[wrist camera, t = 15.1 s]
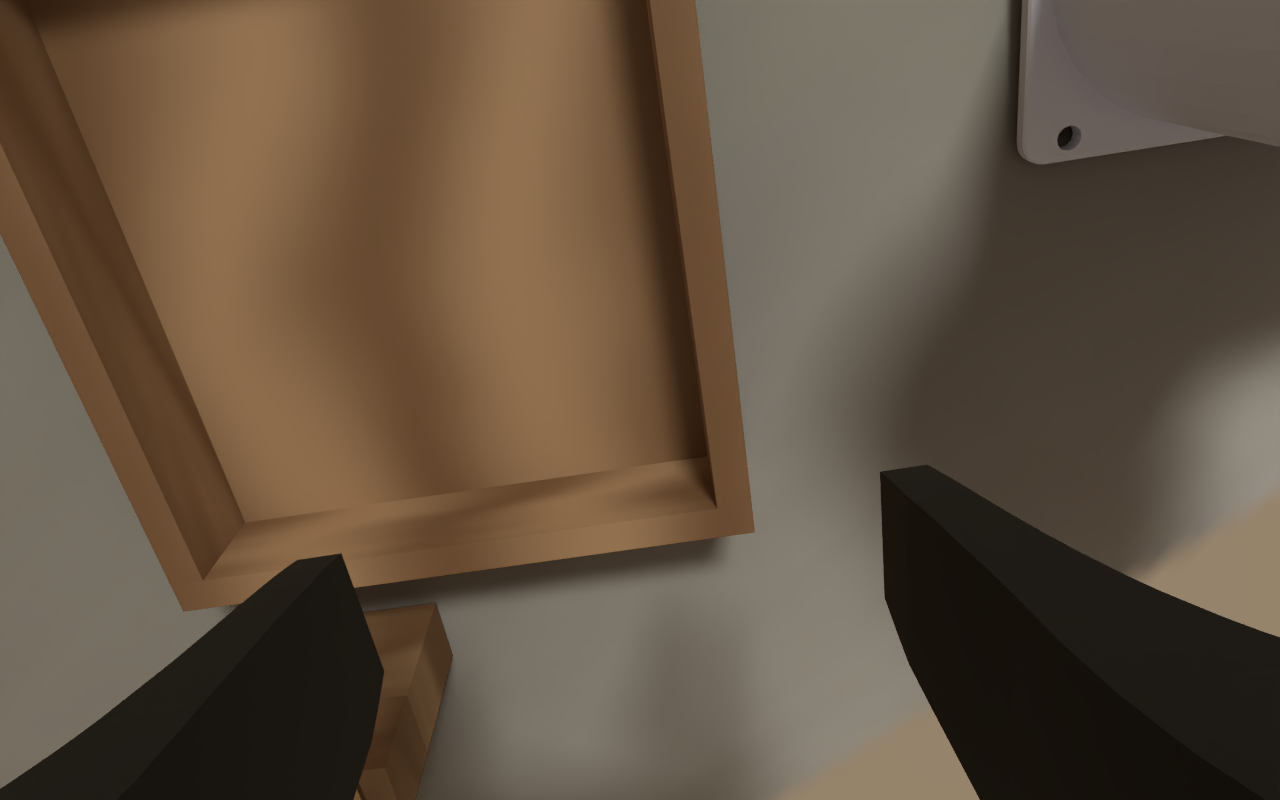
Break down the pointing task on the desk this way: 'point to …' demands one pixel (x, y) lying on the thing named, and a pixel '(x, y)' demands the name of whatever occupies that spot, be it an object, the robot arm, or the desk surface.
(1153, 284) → the desk surface
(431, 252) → the wooden tray
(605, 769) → the desk surface
